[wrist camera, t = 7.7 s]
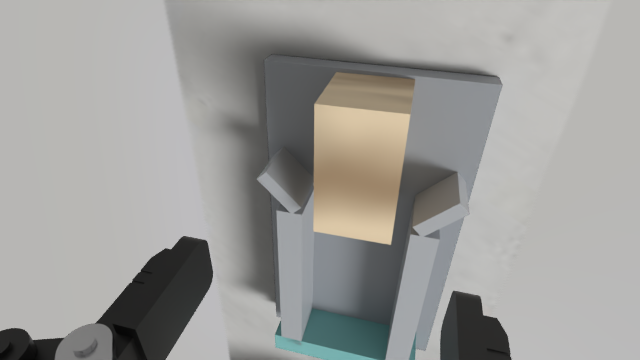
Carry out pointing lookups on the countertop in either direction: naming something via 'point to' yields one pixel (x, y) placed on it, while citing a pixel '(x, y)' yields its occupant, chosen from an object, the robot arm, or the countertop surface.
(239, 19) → the countertop surface
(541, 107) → the countertop surface
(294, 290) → the guide board
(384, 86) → the beech block
